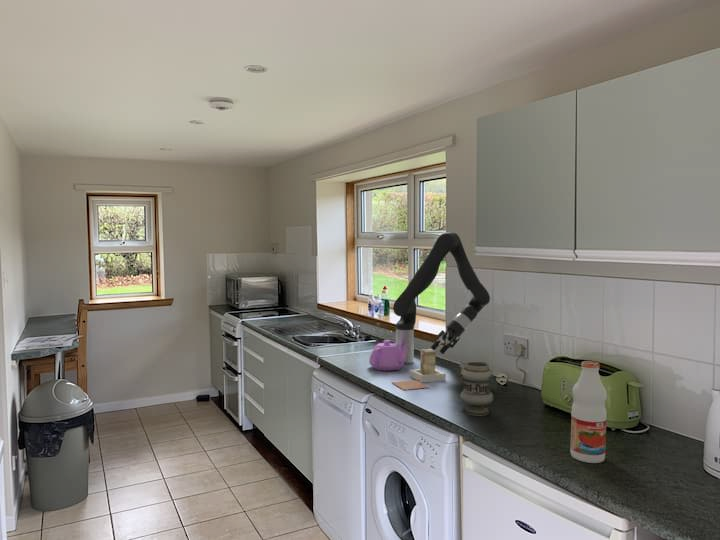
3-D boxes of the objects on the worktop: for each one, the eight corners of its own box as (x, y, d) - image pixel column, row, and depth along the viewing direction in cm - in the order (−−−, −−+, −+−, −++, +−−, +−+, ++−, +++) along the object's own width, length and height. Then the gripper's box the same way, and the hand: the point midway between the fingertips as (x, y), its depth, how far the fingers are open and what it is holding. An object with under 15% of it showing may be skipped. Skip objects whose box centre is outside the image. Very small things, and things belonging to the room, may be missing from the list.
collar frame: (410, 376, 251) (410, 369, 250) (433, 374, 255) (433, 367, 255) (421, 382, 239) (421, 375, 239) (445, 380, 243) (445, 373, 243)
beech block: (420, 377, 248) (420, 349, 248) (429, 376, 250) (430, 348, 249) (425, 380, 244) (425, 351, 243) (435, 379, 246) (435, 350, 245)
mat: (392, 383, 238) (392, 382, 238) (416, 381, 242) (416, 380, 242) (403, 390, 226) (403, 389, 226) (429, 388, 231) (429, 386, 231)
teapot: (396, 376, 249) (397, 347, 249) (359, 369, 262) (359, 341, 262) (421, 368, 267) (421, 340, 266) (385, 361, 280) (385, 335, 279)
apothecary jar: (453, 408, 203) (454, 361, 202) (481, 405, 207) (482, 358, 206) (471, 418, 192) (472, 368, 191) (499, 414, 196) (501, 365, 195)
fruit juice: (591, 450, 163) (594, 358, 162) (612, 462, 154) (615, 365, 153) (563, 452, 162) (566, 359, 160) (582, 465, 152) (585, 367, 151)
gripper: (446, 317, 257) (424, 342, 253) (462, 321, 243) (439, 348, 240) (456, 327, 259) (434, 353, 256) (472, 332, 246) (449, 359, 242)
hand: (436, 350), depth 248 cm, fingers open, 8 cm apart
